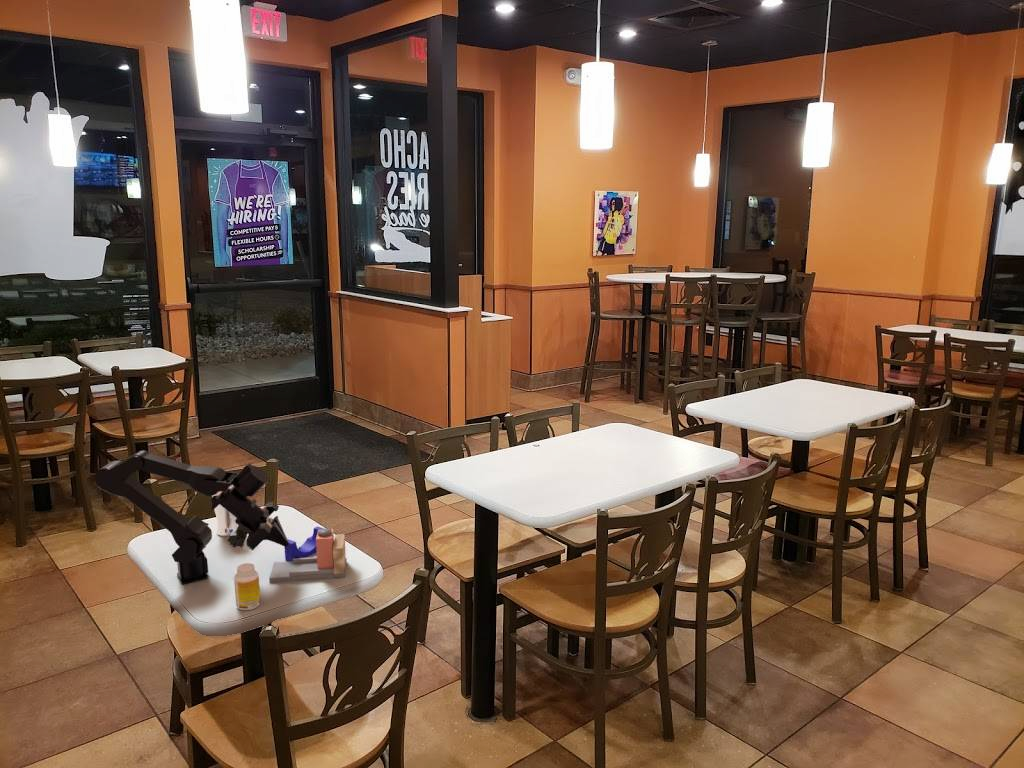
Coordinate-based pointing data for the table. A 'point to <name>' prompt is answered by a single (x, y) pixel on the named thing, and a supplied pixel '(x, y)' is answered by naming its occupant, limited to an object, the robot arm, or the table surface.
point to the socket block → (339, 553)
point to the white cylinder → (225, 520)
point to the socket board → (301, 570)
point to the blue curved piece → (302, 547)
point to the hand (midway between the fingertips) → (287, 545)
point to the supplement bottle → (247, 587)
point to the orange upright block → (325, 548)
